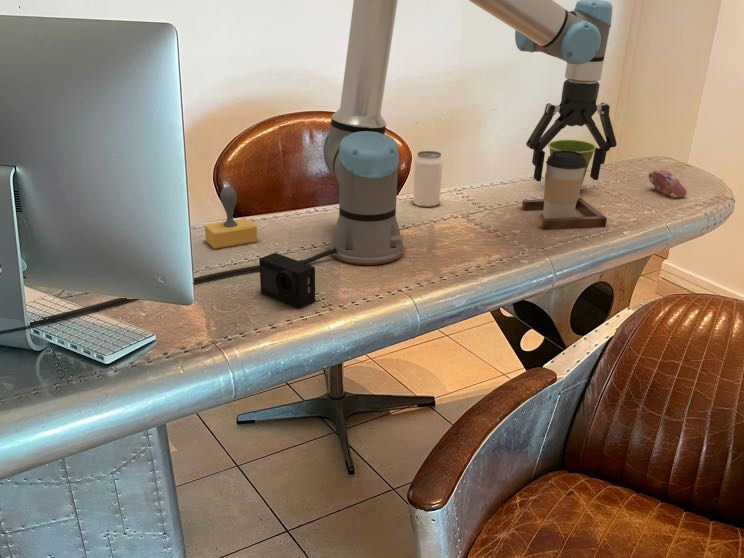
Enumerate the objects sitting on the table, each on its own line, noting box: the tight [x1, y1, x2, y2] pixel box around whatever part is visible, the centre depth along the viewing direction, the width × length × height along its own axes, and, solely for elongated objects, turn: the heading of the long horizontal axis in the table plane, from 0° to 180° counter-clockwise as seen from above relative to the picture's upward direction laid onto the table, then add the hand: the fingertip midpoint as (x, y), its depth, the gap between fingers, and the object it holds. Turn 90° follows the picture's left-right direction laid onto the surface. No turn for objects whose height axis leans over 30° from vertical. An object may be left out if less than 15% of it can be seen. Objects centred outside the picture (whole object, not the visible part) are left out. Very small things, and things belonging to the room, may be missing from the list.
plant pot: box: [547, 139, 598, 188], centre depth 204 cm, size 12×12×11 cm
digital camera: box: [258, 252, 316, 309], centre depth 149 cm, size 10×5×7 cm, turn 47°
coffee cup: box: [542, 150, 587, 219], centre depth 185 cm, size 9×9×15 cm
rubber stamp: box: [204, 186, 258, 250], centre depth 172 cm, size 10×6×12 cm, turn 117°
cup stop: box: [521, 197, 608, 230], centre depth 189 cm, size 15×15×2 cm
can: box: [412, 150, 443, 208], centre depth 195 cm, size 6×6×12 cm
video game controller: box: [648, 168, 688, 199], centre depth 204 cm, size 10×5×7 cm, turn 17°
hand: (565, 179), depth 185 cm, fingers open, 13 cm apart
